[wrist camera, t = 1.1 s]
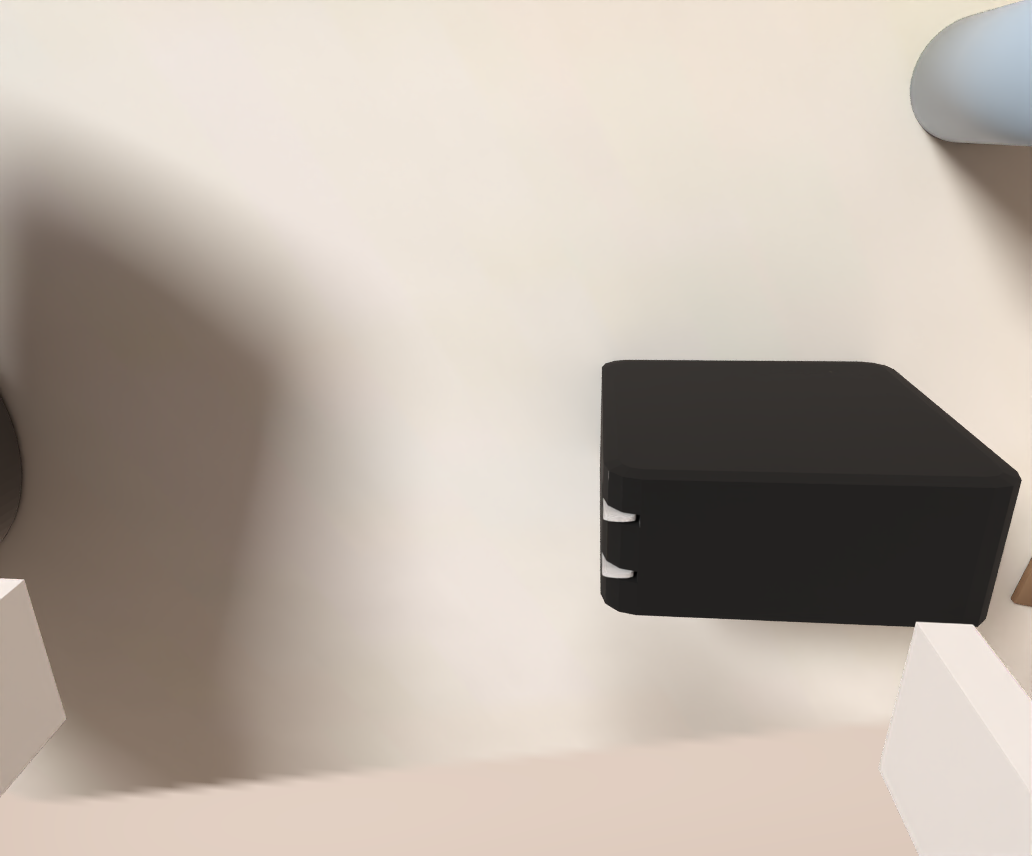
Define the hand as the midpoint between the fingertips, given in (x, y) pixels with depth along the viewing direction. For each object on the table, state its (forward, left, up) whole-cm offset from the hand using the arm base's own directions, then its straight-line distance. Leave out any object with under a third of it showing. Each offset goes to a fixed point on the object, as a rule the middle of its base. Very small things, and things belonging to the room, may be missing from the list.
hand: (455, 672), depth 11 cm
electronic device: (+8, -1, -18) cm, 19 cm away
